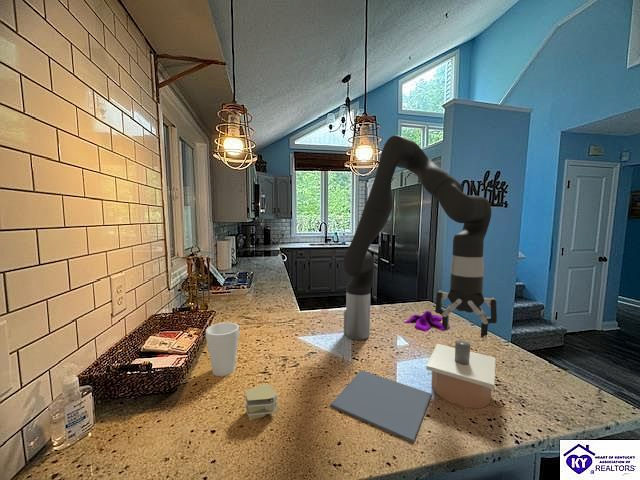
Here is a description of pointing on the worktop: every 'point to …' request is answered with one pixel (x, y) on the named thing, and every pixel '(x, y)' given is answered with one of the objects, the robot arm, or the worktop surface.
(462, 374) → the cover
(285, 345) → the worktop surface
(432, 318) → the cloth
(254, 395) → the pale green layered block
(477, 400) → the bowl
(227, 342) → the foam cup
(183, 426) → the worktop surface
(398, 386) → the mat
